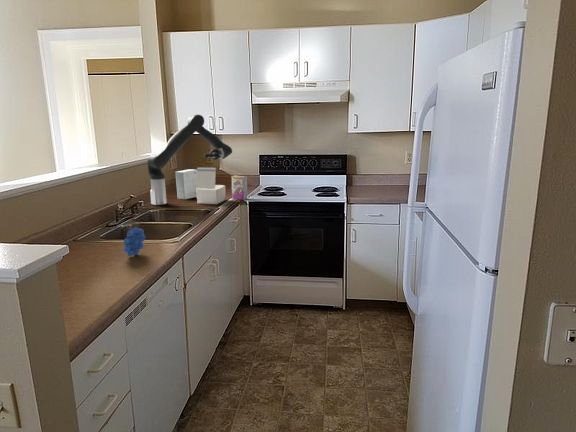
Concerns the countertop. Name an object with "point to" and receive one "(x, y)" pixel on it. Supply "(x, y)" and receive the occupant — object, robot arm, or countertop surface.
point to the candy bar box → (239, 187)
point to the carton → (210, 195)
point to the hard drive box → (186, 183)
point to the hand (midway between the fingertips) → (207, 156)
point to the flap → (206, 178)
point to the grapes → (134, 241)
